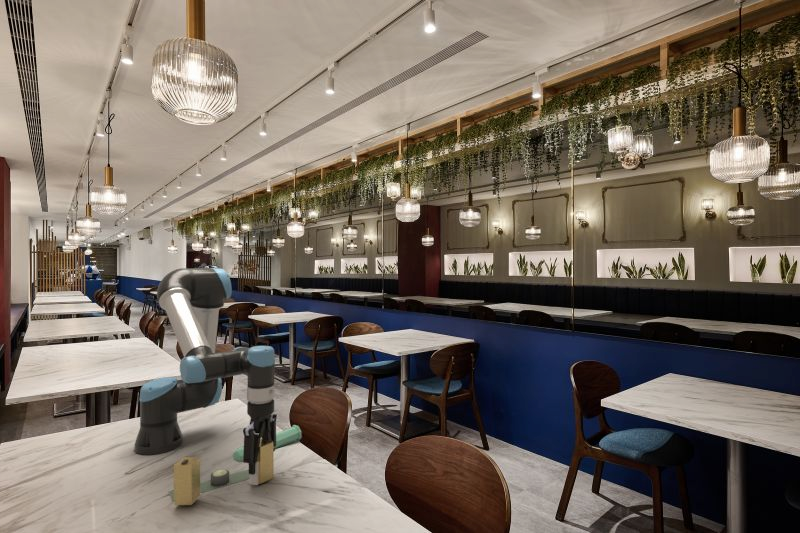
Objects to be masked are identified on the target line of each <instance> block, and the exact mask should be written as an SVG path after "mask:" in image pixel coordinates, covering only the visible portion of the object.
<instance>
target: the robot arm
mask: <svg viewBox="0 0 800 533" xmlns="http://www.w3.org/2000/svg"><path fill="white" fill-rule="evenodd" d="M230 278H231V277H230V276H229V274H228V272H227V271H226V270H225V269H223V268H216V267H215V268H214V267H199V268H194V267H193V268H186V267H185V268H182V267H181V268H176V269H174V270H171V271H169V273H167V274H166V275H165V276H163V278H162V280H160V281H159V284H158V287H157V290H156V297H157V298H156V299H157V302H158V305H159V306H160V308H161V309H162V310H164V311H165V312H166V315H167V317H168V320H169V323H170V326H171V328H172V330H173V332H174V335H175V337H176V340H177V343H178V345H179V348H180V351H181V352H182V355H183V358H181V360H180V363H179V373H180V378H181V379H177V377H175V376H167V377H165V376H164V377H159V378H157V379H153V380H150V381H147V382H146V383H144V384H143V385H142V386H141V388H140V393H139V399H138V400H139V421H140V422H139V424H140V425H139V430H138V433H137V436H136V439H135V440H134V453H137V454H138V455H145V456H146V455H148V456H149V455H151V456H152V455H156V454H157V455H158V454H162V453H167V452H169V451H173V450H175V449H177V448H179V447H180V446H181V445H183V443H184V436H183V433H182V430H181V428H180V425H179V422H178V414H180V413H185V412H188V411H192V410H193V411H194V410H199V409H202V408H203V409H205V408H207V407H211V406H214V405H215V404H217V403H218V402H219V400H220V398H221V396H222V392H223V384H222V383H223V381H222V378H223V379H224V378H229V377H233V376H234V377H235V376H239V375H240V376H241V375H245V376H247V389H246V390H247V392H246V393H247V394H246V396H247V397H246V400H247V401H248V402H246V404H247V408H246V412H247V415H248V416H249V418H250V421H249V426H248V427H244V428H242V433H243V446H244V454H243V461H242V462H243V463H244V464H248V469H249V479H248V484H250V485H253V486H258V485H259V484H260V483H259V461H257V457H258V451H259V445H260V440H261V439H266V440H269V441H273V447H275V446H276V433H277V417H278V414H277V413H275V400H274V398H275V377H276V376H275V370H276V369H275V368H276V364H275V363H276V358H275V348H273V346H271V345H270V346H269V345H256V346H255V345H254V346H252V347H247V346H238V347H235V348H233V349H232V350H228V351H221V352H216V344H217V333H218V323H219V314H220V313H219V311H220V309H223V307H225V301H227V300H229V299H230V298H231V297H232V291H233V290H232V282H231V279H230ZM275 451H276V449H275V448H273V453H274V452H275Z"/></svg>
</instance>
